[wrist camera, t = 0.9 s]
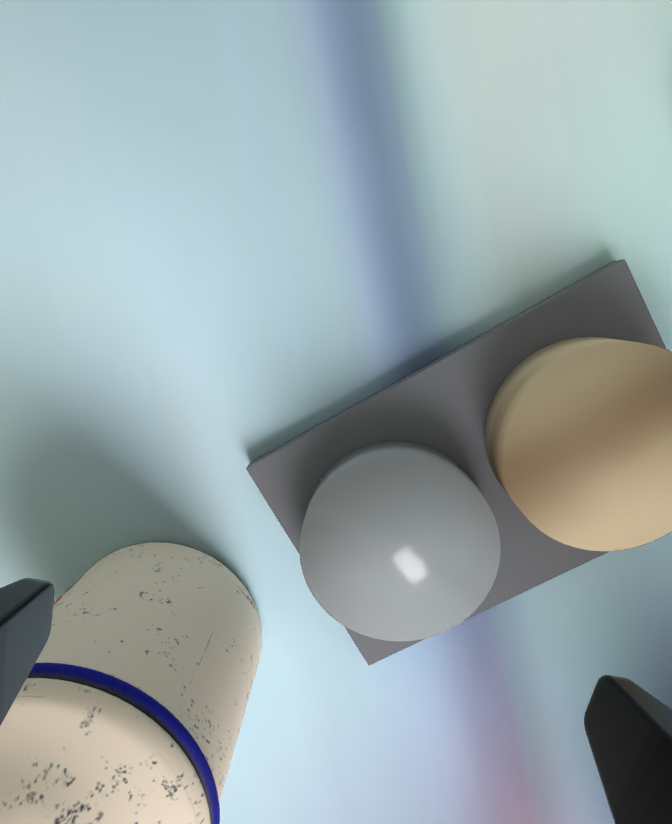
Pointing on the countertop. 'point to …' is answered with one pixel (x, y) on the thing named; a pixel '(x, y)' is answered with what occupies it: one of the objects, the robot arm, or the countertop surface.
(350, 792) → the countertop surface
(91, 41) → the countertop surface
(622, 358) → the cork lid
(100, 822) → the teacup with lid
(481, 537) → the grey puck
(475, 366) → the mat
